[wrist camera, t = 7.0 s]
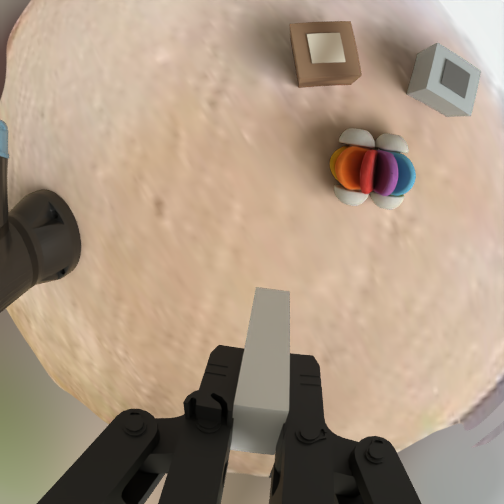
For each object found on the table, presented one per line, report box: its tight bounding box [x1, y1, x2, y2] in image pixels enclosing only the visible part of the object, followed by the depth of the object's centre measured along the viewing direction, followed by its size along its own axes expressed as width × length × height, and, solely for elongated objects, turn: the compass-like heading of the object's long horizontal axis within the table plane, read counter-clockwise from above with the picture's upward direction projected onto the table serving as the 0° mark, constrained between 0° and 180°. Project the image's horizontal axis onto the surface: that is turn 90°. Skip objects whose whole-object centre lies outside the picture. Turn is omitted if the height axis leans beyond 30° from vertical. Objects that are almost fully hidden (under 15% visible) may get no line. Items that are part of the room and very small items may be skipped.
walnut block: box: [290, 21, 362, 88], centre depth 25 cm, size 6×6×6 cm
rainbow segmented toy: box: [330, 128, 416, 210], centre depth 29 cm, size 8×10×7 cm
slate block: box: [407, 43, 481, 117], centre depth 24 cm, size 6×6×6 cm
